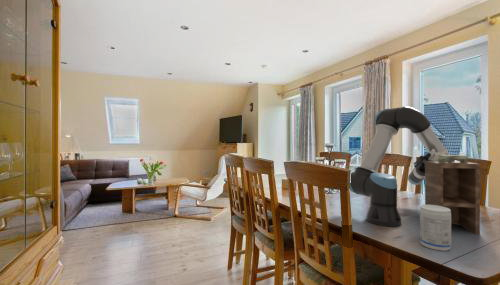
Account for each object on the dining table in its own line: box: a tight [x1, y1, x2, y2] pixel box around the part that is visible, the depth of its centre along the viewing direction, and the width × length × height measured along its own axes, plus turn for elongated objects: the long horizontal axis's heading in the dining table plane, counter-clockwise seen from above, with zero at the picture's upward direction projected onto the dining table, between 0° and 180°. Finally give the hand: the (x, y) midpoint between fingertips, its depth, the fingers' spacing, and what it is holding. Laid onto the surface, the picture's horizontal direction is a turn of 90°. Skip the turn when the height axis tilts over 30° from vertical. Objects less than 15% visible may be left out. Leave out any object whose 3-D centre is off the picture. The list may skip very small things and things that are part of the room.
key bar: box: [430, 153, 456, 162], centre depth 121 cm, size 4×18×4 cm, turn 166°
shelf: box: [424, 154, 481, 235], centre depth 114 cm, size 15×14×33 cm
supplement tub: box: [419, 204, 452, 252], centre depth 94 cm, size 10×10×15 cm
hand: (440, 151), depth 123 cm, fingers open, 5 cm apart
